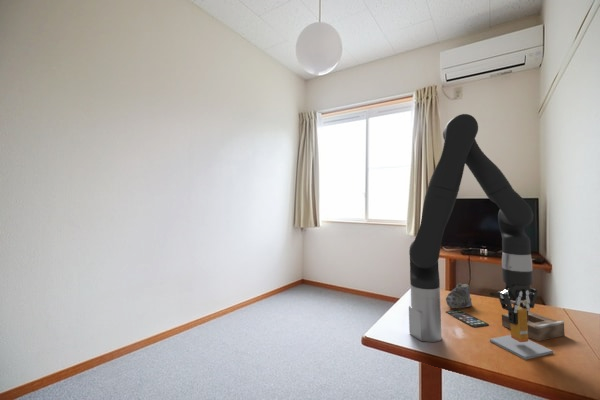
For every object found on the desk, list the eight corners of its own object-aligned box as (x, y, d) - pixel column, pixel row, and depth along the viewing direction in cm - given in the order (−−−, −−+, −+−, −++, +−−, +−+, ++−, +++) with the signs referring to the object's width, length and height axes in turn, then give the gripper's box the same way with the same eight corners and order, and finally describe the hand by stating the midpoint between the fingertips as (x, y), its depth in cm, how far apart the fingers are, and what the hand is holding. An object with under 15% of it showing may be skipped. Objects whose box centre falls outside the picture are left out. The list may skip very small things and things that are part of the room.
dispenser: (537, 341, 89) (537, 326, 89) (502, 325, 101) (501, 312, 101) (564, 335, 92) (564, 321, 92) (526, 320, 104) (526, 308, 104)
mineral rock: (448, 311, 115) (447, 287, 115) (437, 301, 126) (436, 279, 126) (480, 311, 114) (479, 286, 114) (466, 301, 125) (465, 279, 125)
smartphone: (460, 309, 116) (490, 324, 101) (460, 311, 116) (490, 326, 101) (444, 311, 114) (472, 326, 100) (444, 313, 114) (473, 328, 100)
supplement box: (530, 341, 84) (527, 309, 84) (519, 342, 84) (517, 310, 84) (520, 336, 88) (518, 304, 88) (510, 337, 87) (508, 306, 87)
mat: (525, 359, 79) (524, 356, 79) (489, 341, 90) (489, 338, 90) (552, 353, 82) (552, 350, 82) (515, 336, 93) (515, 333, 93)
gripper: (511, 272, 81) (513, 331, 80) (546, 268, 84) (548, 324, 84) (487, 266, 88) (489, 320, 88) (521, 263, 92) (523, 315, 91)
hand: (518, 322), depth 86 cm, fingers open, 3 cm apart
